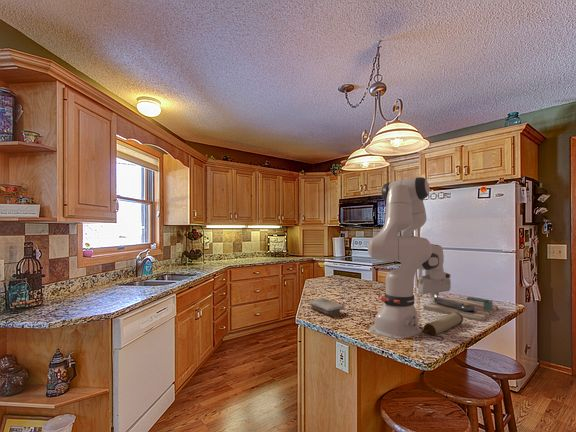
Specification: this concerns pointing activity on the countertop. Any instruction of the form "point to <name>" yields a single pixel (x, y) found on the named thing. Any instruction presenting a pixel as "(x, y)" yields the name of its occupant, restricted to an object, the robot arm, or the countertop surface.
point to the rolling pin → (443, 324)
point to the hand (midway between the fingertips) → (434, 300)
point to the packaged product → (326, 306)
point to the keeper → (486, 302)
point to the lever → (455, 304)
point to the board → (477, 314)
